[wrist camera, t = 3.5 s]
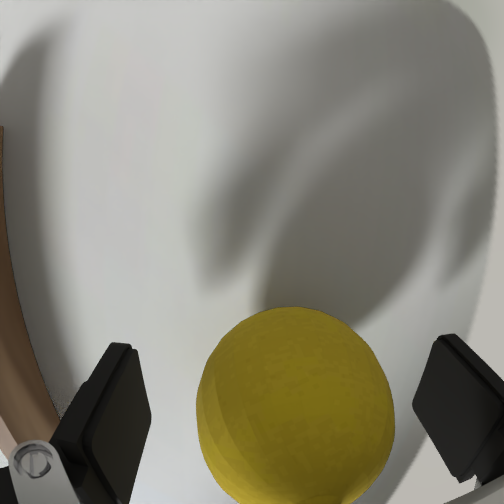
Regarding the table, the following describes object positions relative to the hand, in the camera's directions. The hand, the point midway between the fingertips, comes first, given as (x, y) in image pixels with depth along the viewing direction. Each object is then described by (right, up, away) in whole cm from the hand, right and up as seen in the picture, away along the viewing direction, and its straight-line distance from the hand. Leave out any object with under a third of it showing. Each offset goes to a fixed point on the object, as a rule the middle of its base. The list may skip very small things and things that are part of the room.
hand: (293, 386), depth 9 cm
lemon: (0, +1, +4) cm, 4 cm away
